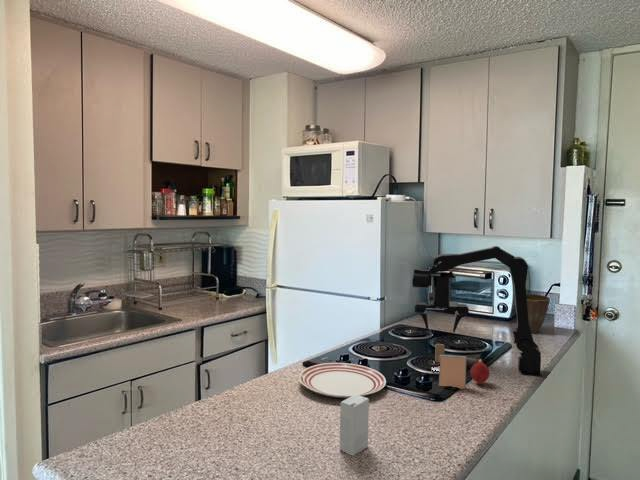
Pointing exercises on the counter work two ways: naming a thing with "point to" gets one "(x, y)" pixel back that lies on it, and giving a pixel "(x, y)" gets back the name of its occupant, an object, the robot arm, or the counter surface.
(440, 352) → the turner
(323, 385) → the dinner plate
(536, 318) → the plant pot
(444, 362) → the tile
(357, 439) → the skincare box
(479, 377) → the onion
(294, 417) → the counter surface
